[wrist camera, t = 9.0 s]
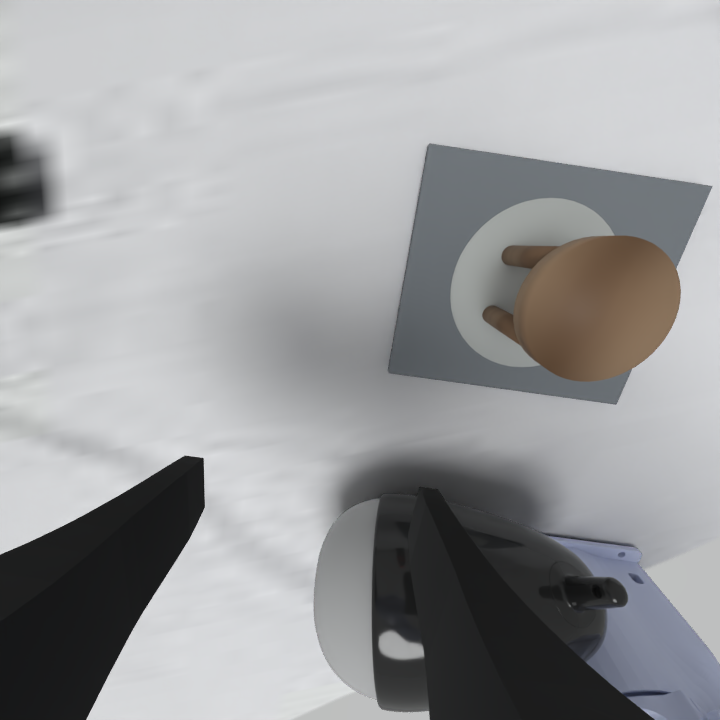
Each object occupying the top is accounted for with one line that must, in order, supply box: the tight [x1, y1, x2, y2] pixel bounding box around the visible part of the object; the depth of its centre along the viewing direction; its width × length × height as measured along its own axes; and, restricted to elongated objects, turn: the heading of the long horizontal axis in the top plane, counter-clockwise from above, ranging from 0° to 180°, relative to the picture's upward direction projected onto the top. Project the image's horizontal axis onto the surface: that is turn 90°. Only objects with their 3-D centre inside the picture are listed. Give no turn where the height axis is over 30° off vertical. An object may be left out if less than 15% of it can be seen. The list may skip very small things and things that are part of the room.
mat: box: [388, 144, 712, 404], centre depth 18 cm, size 14×12×1 cm
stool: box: [482, 236, 681, 382], centre depth 15 cm, size 6×6×6 cm
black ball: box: [314, 493, 628, 712], centre depth 19 cm, size 10×10×15 cm
